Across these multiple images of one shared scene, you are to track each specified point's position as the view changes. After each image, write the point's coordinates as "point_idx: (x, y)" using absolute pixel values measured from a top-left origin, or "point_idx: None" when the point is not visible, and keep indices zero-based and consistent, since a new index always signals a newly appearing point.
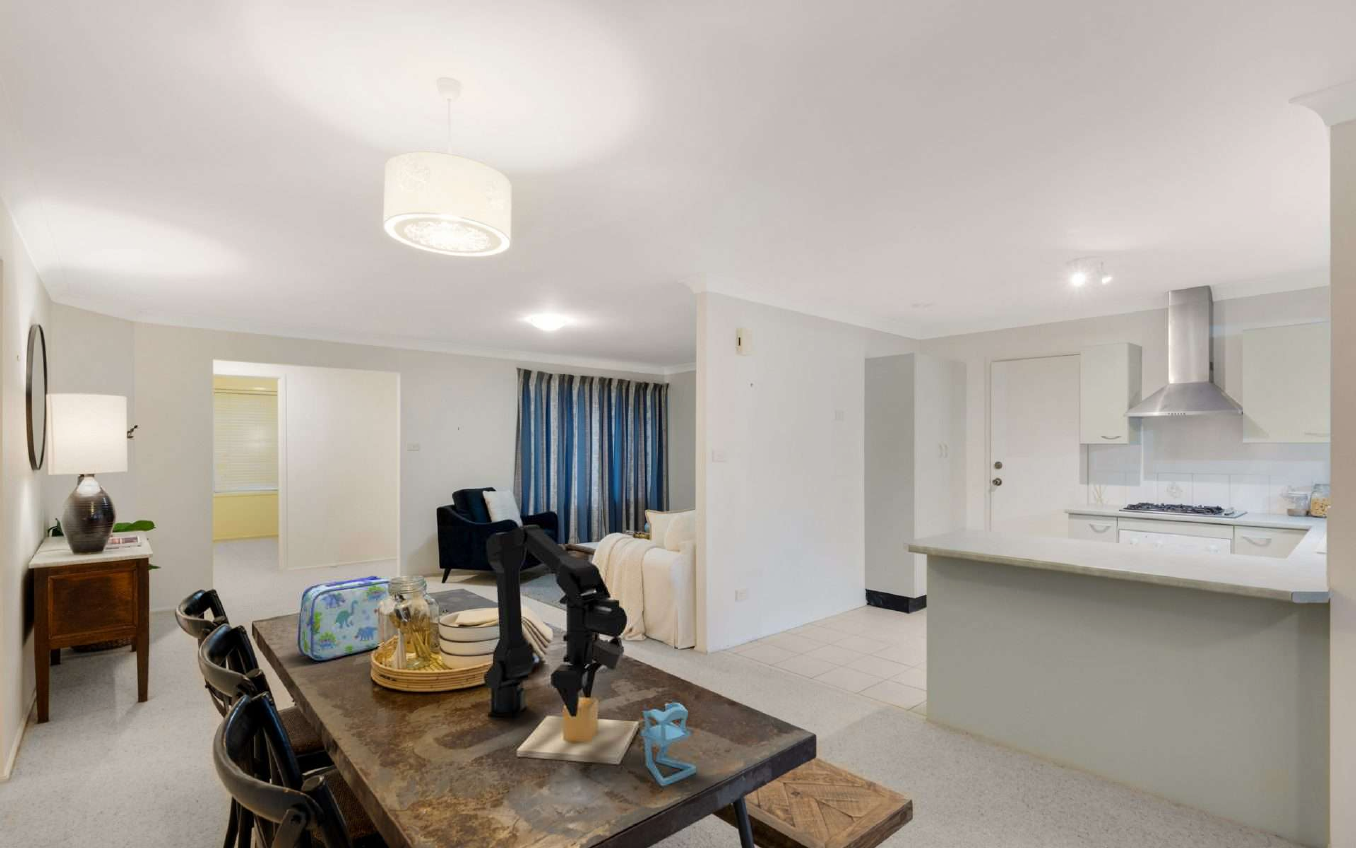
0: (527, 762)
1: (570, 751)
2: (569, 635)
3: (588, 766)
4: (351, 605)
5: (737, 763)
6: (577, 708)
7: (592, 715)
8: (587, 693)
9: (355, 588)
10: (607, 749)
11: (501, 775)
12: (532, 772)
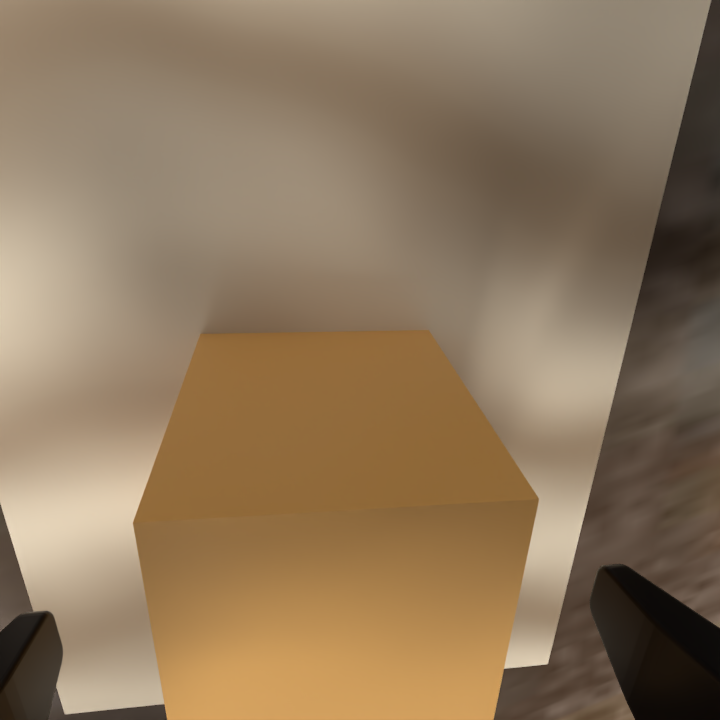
0: (593, 572)
1: (575, 410)
2: None
3: (674, 240)
4: None
5: None
6: (681, 626)
7: (382, 429)
8: (33, 696)
9: None
10: (554, 143)
11: (708, 614)
12: (701, 512)
